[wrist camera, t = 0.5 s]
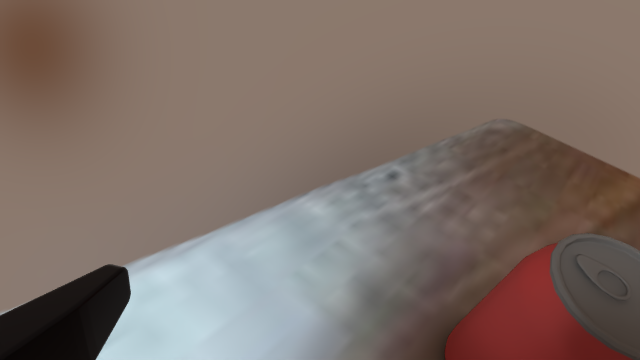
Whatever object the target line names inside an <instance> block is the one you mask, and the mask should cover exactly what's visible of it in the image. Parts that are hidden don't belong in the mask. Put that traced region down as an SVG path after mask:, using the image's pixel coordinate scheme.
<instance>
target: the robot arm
mask: <svg viewBox="0 0 640 360" xmlns="http://www.w3.org/2000/svg"><path fill="white" fill-rule="evenodd" d="M130 295H131V290H130V283H129V275H128V270H127V269H126V268H125V267H121V266H117V265H112V264H108V265H105V266H103V267H101V268H99V269H97V270H94V271H93V272H90V273H88V274H86V275H84V276H82V277H80V278H78V279H76V280H74V281H71V282H69V283H67V284H65V285H63V286H61V287H59V288H57V289H55V290H53V291H51V292H48V293H46V294H44V295H42V296H40V297H38V298H36V299H34V300H32V301H30V302H27V303H25V304H23V305H21V306H19V307H17V308H15V309H13V310H11V311H9V312H6V313H4V314H2V315H0V360H96V358H97V356H98V355H99V353H100V351H101V350H102V348H103V346H104V344H105V343H106V341H107V339H108V337H109V335H110V334H111V332H112V330H113V328H114V327H115V325H116V323H117V321H118V320H119V318H120V316H121V314H122V313H123V311H124V309H125V307H126V306H127V304H128V302H129V299H130Z"/></svg>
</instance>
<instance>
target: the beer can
mask: <svg viewBox="0 0 640 360" xmlns="http://www.w3.org/2000/svg"><path fill="white" fill-rule="evenodd" d="M445 360H640V251H638V250H637V249H635V248H633V247H632V246H630V245H628V244H625V243H623V242H620V241H618V240H615V239H613V238H610V237H607V236H601V235H596V234H590V233H584V234H573V235H570V236H568V237H567V238H565V239H563V240H561V241H559V242H558V243H555V244H551V245H548V246H546V247H544V248H542V249H540V250H538V251H536V252H534V253H532V254H531V255H529V256H527V257H525V258H524V259H523V260H522V261H521V262H520V263H519V264H518V265H517V266H516V267H515V268H514V269H513V270H512V271H511V272H510V273H509V274H508V275H507V276H506V277H505V278H504V279H503V280H502V281H501V282H500V283H499V284H498V285H497V286H496V287H495V288H494V289H493V290H492V291H491V292H490V293H489V294H488V295H487V296H486V297H485V298H484V299H483V300H482V301H481V302H480V303H479V304H478V305H477V306H476V307H475V308H474V309H473V310H472V311H471V312H470V313H469V314H468V315H467V316H466V317H465V318H464V319H463V320H461V321H460V322H459V323H458V324H457V325H456V327H455V328H454V329H453V331H452V332H451V334H450V335H449V336H448V340H447V344H446V348H445Z"/></svg>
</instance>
